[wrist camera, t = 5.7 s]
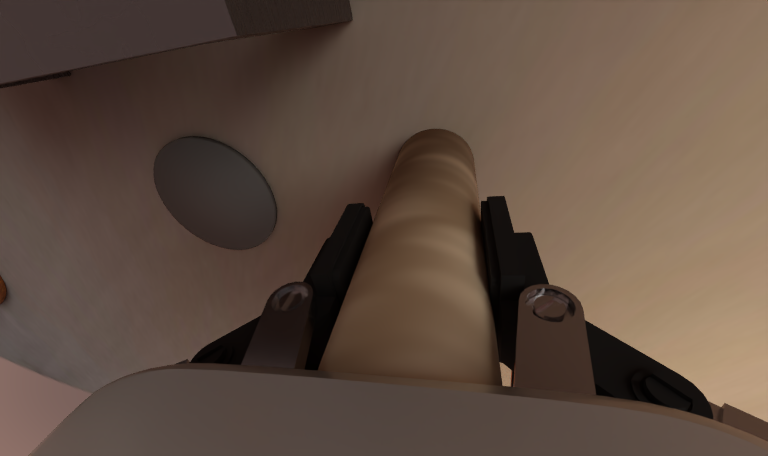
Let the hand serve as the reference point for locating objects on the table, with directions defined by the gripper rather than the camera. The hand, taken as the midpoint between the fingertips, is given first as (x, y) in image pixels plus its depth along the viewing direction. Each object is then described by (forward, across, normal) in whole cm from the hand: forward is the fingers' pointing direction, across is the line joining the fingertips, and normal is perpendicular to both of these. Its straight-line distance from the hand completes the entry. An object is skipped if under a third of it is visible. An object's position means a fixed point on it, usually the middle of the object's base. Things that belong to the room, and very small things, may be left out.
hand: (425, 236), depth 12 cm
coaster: (+6, +14, +1) cm, 15 cm away
